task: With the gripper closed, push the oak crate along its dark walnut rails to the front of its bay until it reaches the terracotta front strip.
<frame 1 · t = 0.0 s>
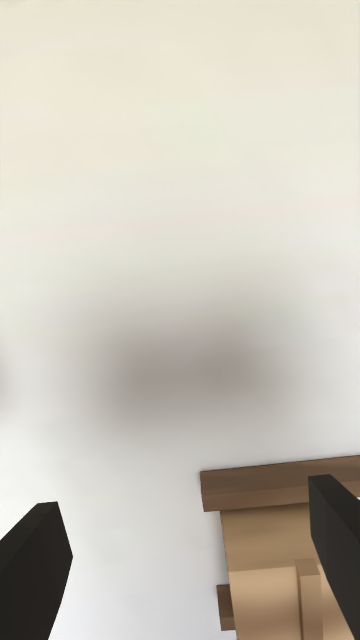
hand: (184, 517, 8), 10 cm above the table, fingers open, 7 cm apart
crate: (294, 577, 18), point 3 cm above the table, slide at 0.0 cm
bay: (350, 525, 20), on the table
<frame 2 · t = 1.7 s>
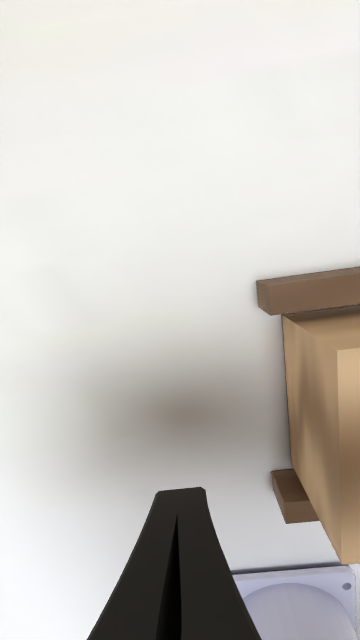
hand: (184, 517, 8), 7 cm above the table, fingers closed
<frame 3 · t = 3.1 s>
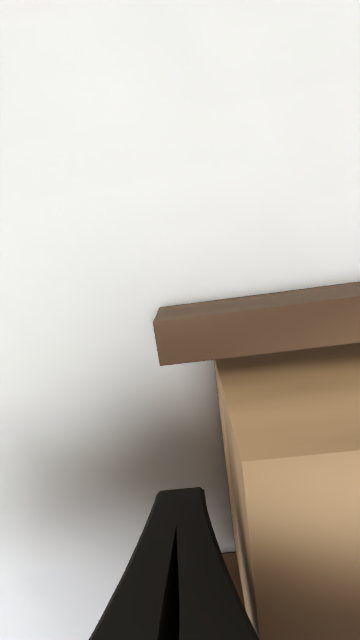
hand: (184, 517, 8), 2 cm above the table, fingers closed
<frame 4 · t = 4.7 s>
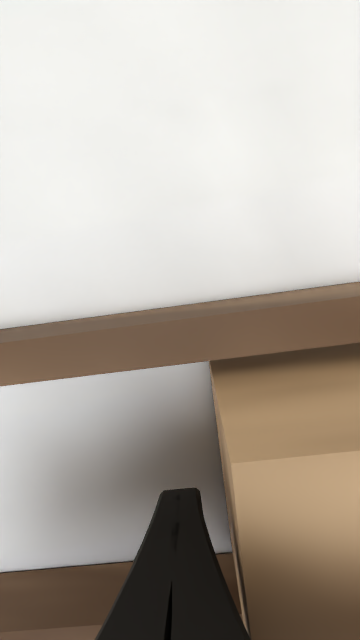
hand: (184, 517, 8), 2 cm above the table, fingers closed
bay: (191, 459, 11), on the table
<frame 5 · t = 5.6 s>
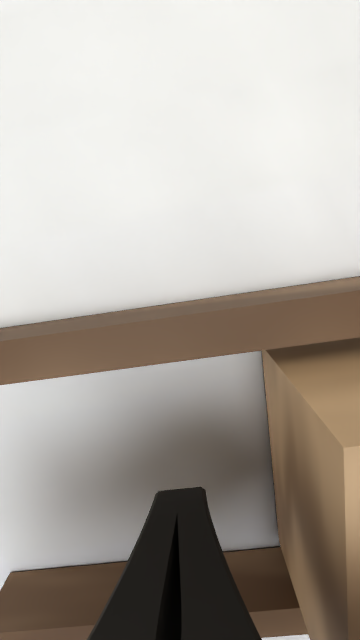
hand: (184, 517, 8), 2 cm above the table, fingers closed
bay: (240, 451, 10), on the table
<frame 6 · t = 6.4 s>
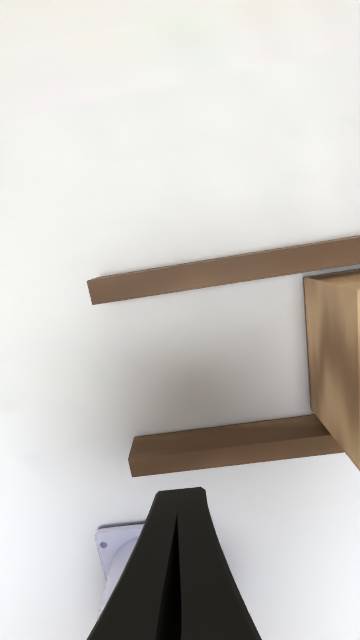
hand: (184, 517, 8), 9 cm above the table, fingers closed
bay: (288, 348, 17), on the table
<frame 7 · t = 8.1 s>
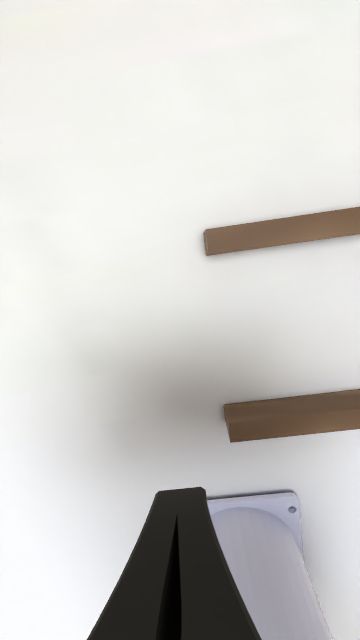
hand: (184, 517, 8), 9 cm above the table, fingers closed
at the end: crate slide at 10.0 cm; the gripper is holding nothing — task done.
